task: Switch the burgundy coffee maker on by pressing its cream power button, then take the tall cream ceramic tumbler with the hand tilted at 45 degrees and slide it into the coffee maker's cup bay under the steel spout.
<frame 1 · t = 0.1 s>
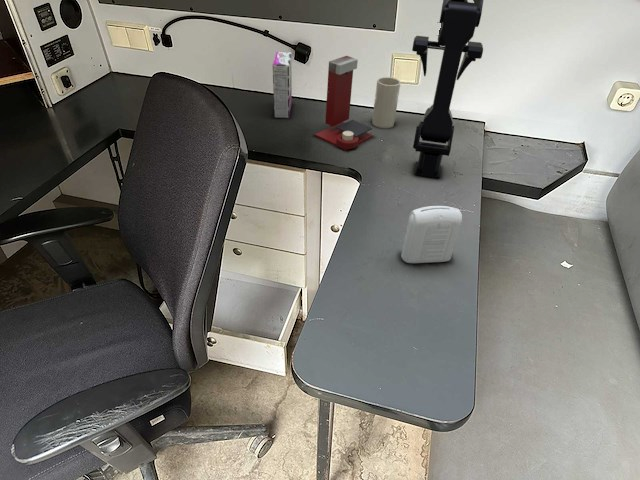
hand: (440, 77, 136), 15 cm above the table, tool pointing down, fingers open, 9 cm apart
candy bar box: (282, 111, 148), on the table
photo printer: (425, 258, 97), on the table
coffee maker: (343, 136, 136), on the table
tumbler: (383, 123, 144), on the table
coffee maker tower: (351, 96, 130), on the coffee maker, point 11 cm above the table
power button: (347, 136, 130), point 3 cm above the table, slide at 0.1 cm
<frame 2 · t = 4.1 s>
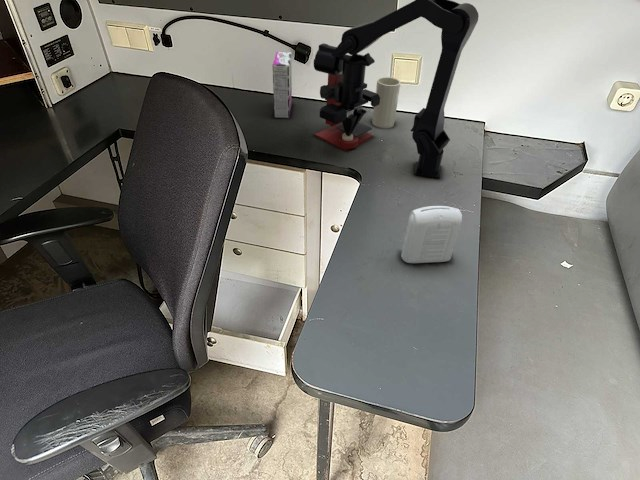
hand: (348, 135, 130), 3 cm above the table, tool pointing down, fingers closed, pressing on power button
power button: (347, 138, 130), point 2 cm above the table, slide at -0.5 cm, touching gripper
everything else where it was.
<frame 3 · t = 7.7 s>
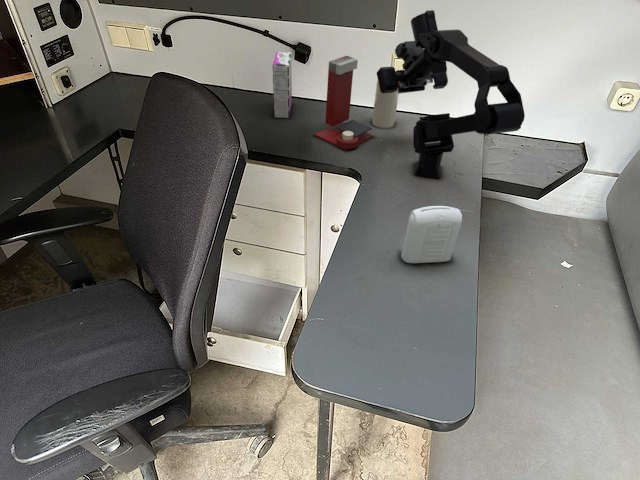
hand: (399, 91, 131), 13 cm above the table, tool tilted 45°, fingers closed
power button: (347, 136, 130), point 3 cm above the table, slide at 0.1 cm
everything else where it was.
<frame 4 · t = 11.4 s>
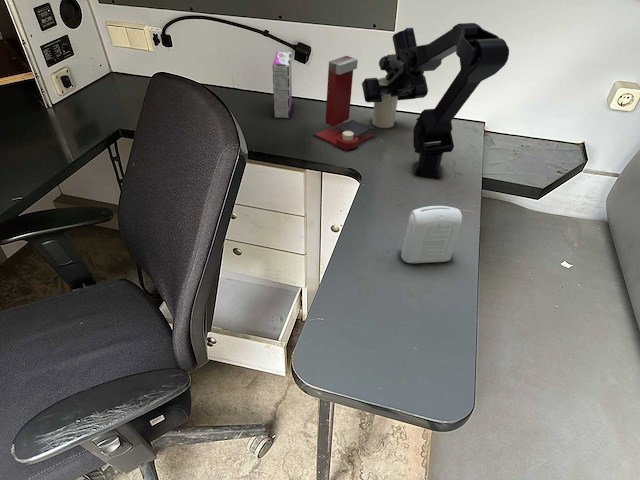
hand: (384, 99, 141), 7 cm above the table, tool tilted 45°, fingers closed on tumbler, 7 cm apart
tumbler: (382, 123, 144), on the table, touching gripper
everything else where it was.
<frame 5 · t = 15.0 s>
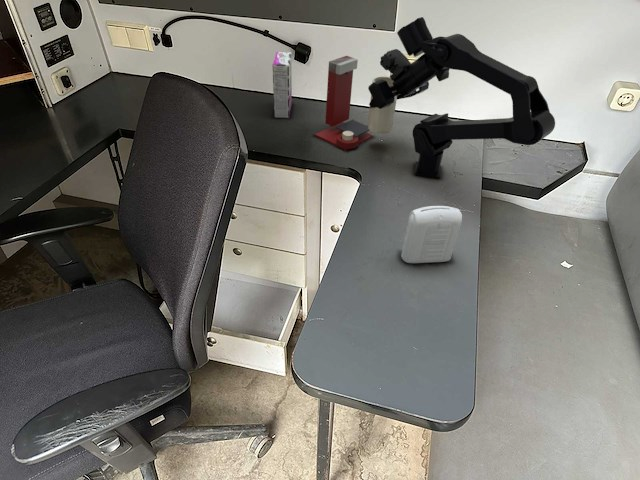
hand: (379, 102, 125), 13 cm above the table, tool tilted 45°, fingers closed on tumbler, 7 cm apart
tumbler: (379, 128, 129), point 6 cm above the table, touching gripper
everything else where it was.
when the fingers open (10 cm above the table, at t = 18.9 s): tumbler stays where it is, resting on coffee maker tower.
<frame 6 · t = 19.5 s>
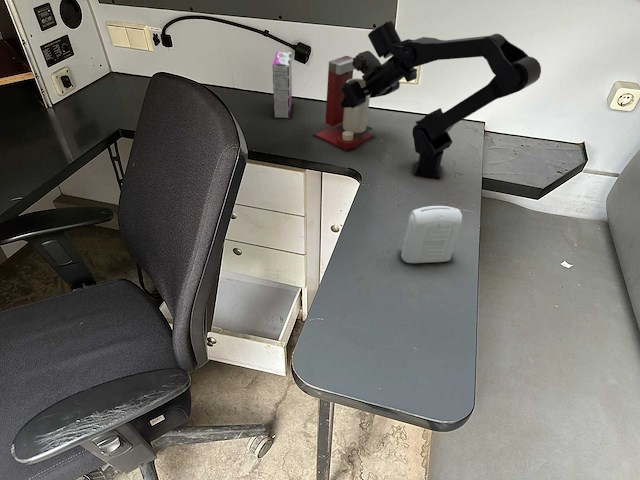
hand: (352, 101, 131), 10 cm above the table, tool tilted 45°, fingers open, 9 cm apart
tumbler: (354, 127, 135), point 3 cm above the table, touching coffee maker tower
everything else where it was.
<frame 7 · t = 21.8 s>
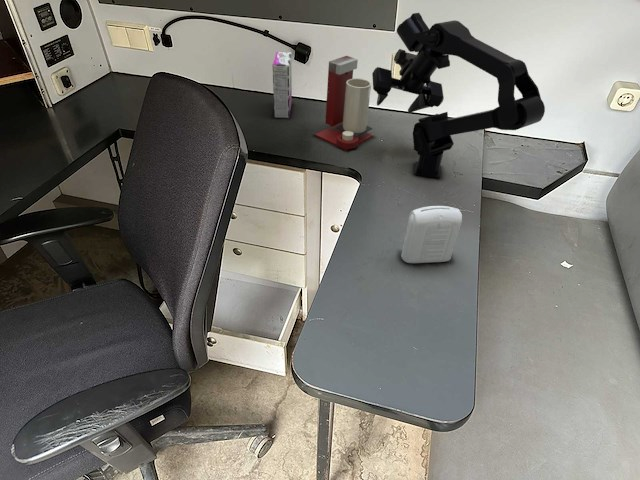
hand: (393, 107, 126), 11 cm above the table, tool tilted 30°, fingers open, 9 cm apart
nothing on the table moved.
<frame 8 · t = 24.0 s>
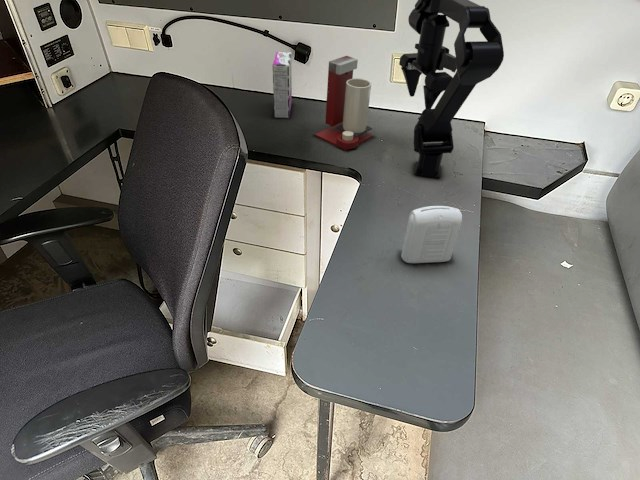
hand: (419, 103, 125), 13 cm above the table, tool pointing down, fingers open, 9 cm apart
nothing on the table moved.
at the end: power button pushed in 1.1 cm at the most during the clip, back to where it started at the end; tumbler 0.0 cm from the target spot on the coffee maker, point 2.8 cm above the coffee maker's base; tumbler tilted 0° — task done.
